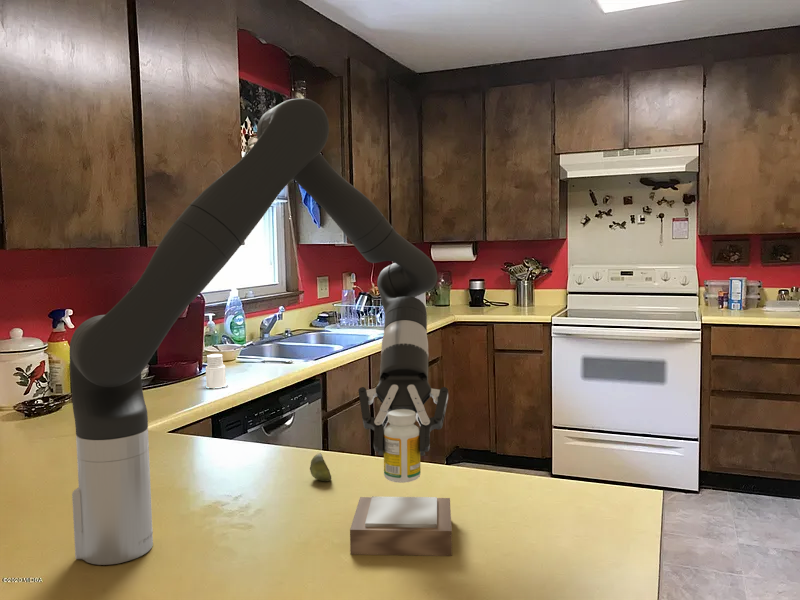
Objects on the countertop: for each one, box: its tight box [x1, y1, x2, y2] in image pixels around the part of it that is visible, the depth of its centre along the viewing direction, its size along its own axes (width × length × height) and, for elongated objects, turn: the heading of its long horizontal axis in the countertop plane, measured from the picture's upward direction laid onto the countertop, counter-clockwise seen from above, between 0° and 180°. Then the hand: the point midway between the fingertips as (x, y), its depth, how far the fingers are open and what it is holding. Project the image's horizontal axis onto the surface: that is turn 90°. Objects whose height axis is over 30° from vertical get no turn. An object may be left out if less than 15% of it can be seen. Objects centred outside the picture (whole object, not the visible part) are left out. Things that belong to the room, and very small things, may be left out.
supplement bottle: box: [383, 409, 421, 484], centre depth 97 cm, size 5×5×10 cm
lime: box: [309, 452, 332, 482], centre depth 121 cm, size 4×5×5 cm
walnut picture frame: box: [349, 496, 453, 557], centre depth 97 cm, size 14×12×4 cm
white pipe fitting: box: [205, 353, 227, 388], centre depth 204 cm, size 8×7×10 cm
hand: (401, 452), depth 95 cm, fingers closed on supplement bottle, 5 cm apart
